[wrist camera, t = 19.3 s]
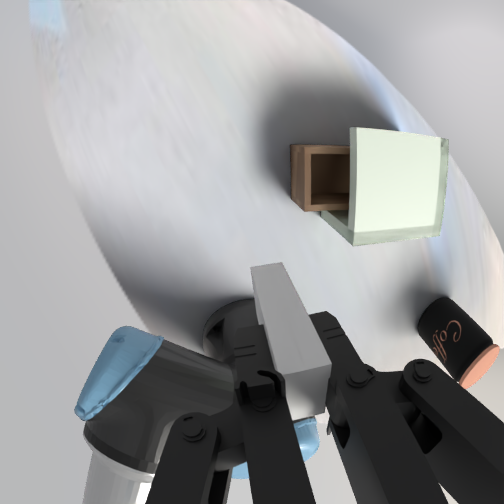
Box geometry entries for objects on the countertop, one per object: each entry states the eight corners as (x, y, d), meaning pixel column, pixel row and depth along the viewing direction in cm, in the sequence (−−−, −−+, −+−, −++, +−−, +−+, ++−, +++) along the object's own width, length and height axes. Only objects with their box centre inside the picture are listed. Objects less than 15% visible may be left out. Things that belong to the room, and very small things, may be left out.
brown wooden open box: (373, 147, 33) (398, 152, 27) (371, 196, 36) (394, 208, 30) (290, 144, 32) (304, 146, 26) (290, 198, 35) (304, 211, 29)
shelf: (320, 217, 36) (353, 246, 27) (319, 127, 31) (356, 127, 22) (398, 211, 37) (439, 235, 28) (401, 133, 32) (448, 139, 23)
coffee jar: (432, 292, 45) (487, 348, 29) (457, 297, 47) (506, 344, 31) (407, 335, 49) (451, 394, 33) (435, 335, 51) (475, 385, 35)
